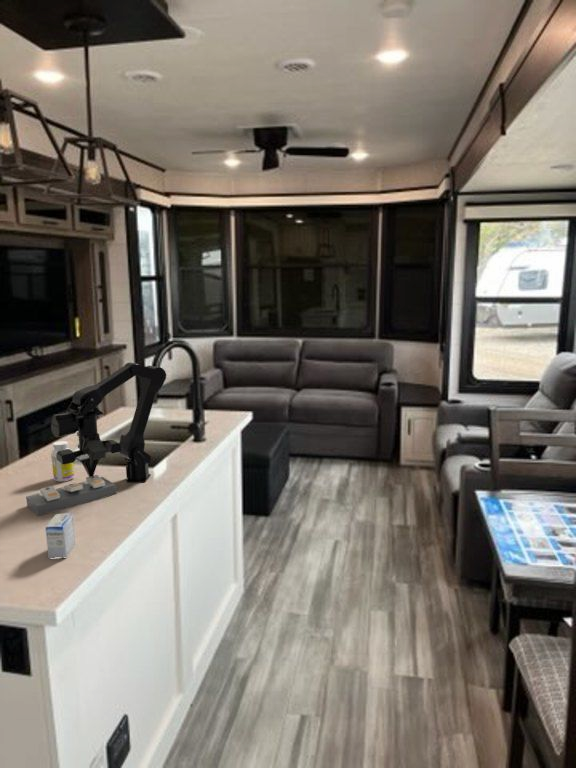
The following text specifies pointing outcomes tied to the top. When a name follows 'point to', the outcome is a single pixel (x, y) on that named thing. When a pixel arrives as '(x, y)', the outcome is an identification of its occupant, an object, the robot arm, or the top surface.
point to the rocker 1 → (50, 493)
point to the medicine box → (60, 535)
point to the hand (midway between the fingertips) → (91, 476)
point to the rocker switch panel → (69, 497)
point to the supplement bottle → (61, 470)
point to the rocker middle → (73, 487)
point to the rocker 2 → (95, 481)
